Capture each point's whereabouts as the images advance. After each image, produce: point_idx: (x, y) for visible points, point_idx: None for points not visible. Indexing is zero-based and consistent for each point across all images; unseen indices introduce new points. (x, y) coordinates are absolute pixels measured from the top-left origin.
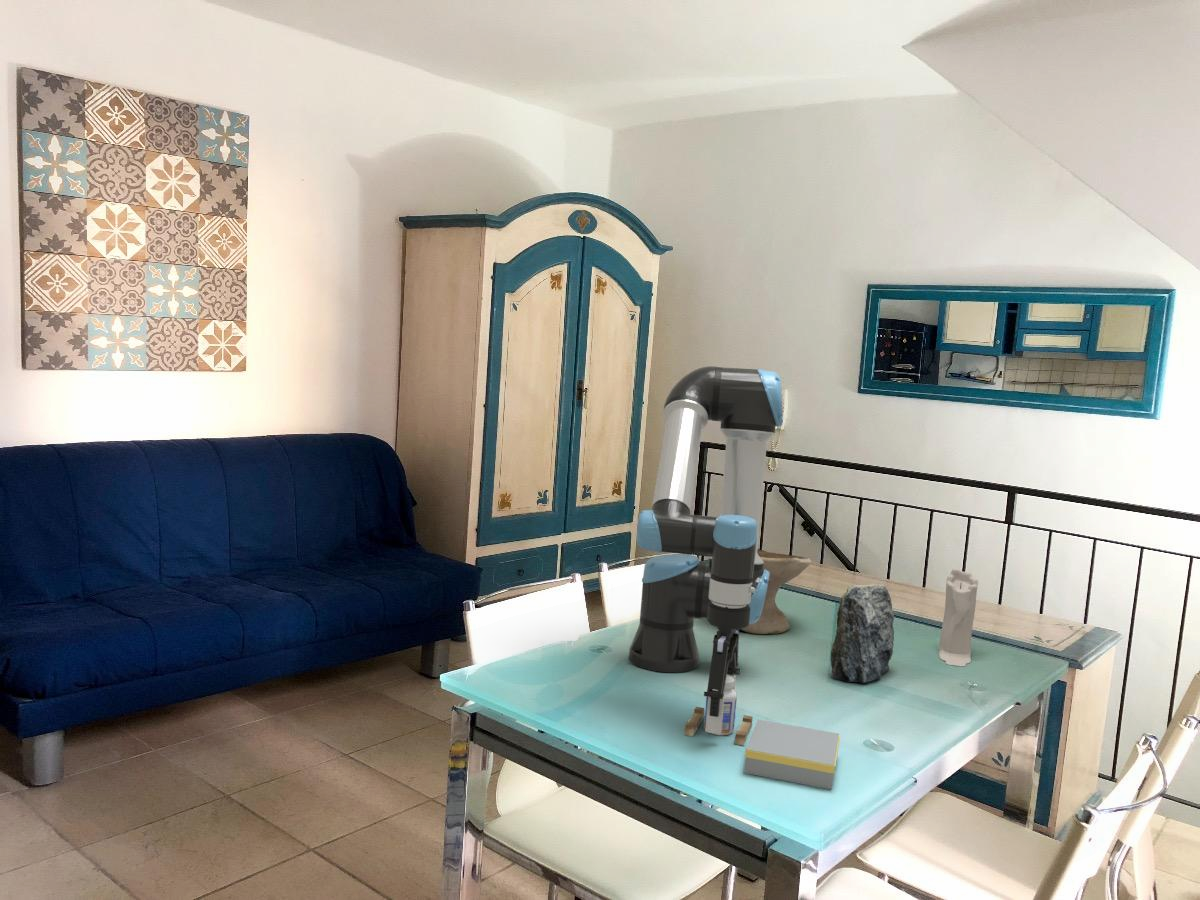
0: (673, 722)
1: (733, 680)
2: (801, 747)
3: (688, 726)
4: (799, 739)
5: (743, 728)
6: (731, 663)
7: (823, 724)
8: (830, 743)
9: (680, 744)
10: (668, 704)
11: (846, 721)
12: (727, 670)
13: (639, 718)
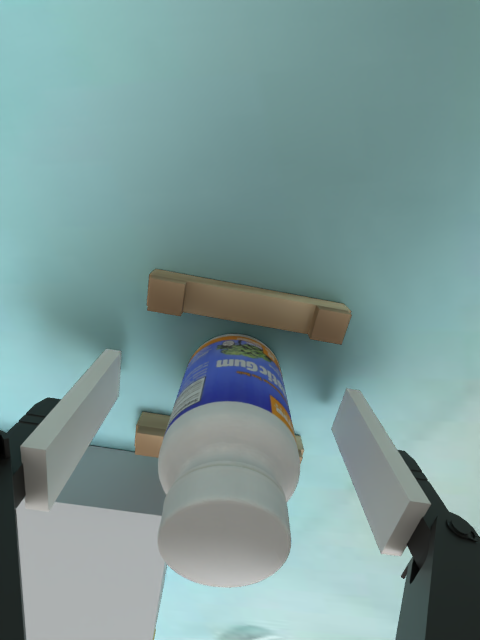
0: (261, 226)
1: (210, 585)
2: None
3: (151, 289)
4: (63, 591)
5: None
6: (400, 637)
7: (337, 582)
8: (74, 637)
9: (68, 257)
10: (449, 199)
11: (364, 615)
12: (428, 547)
13: (269, 69)
